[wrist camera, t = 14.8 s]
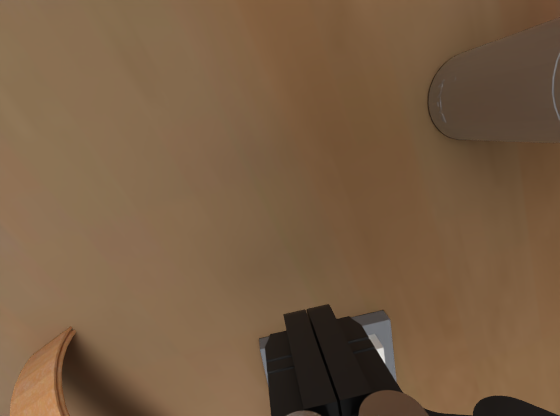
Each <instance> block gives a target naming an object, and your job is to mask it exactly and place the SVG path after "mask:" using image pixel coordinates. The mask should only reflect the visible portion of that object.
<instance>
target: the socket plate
mask: <svg viewBox="0 0 560 416" xmlns="http://www.w3.org/2000/svg"><path fill="white" fill-rule="evenodd" d="M352 319H354V320H355V321H356V322H358V323H359V324H361V325H362V327H363V328H364V330H365V332H366V333H367V335H368V337H369V339H370V340H371V342H372V343H373V345H374V346H375V349H376V350H377V351H378V353H379V355H380V356H381V358H382V360H383V361H384V363H385V365H386V366H387V368H388V369H389V371H390V373H391V374H392V376H393V378H394V379H395V381H396V373H395V363H394V353H393V343H392V333H391V323H390V319H389V317H388V316H387V315H386V314H385V312H384V311H383V310H382V311H378V312H374V313H369V314H365V315H361V316H356V317H352ZM268 339H269V337H264V338H260V339H259V342H260V352H261V356H262V360H263V365H264V369H265V374H266V378H267V382H268V374H267V365H266V354H265V346H266V343H267V341H268ZM396 383H397V382H396ZM268 387H269V386H268Z"/></svg>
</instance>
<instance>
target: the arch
mask: <svg viewBox="0 0 560 416" xmlns="http://www.w3.org/2000/svg"><path fill="white" fill-rule="evenodd" d="M71 330H72V327H69V328H68V329H67V330H65V331H64V332H63V333H61V334H60V335H59V336H57V337H56V338H55V339H53V340H52V341H51V342H49V343H48V344H47V345H45V346H44V347H43V348H41V349H40V350H39V351H37V352H36V353H35V354H33V355H32V356H31V357H30V358H29V360H28V361H27V363H26V364H25V366H24V368H23V369H22V371H21V373H20V375H19V377H18V380H17V382H16V384H15V387H14V391H13V395H12V399H11V405H10V416H69V413H68V410H67V408H66V405H65V400H64V395H63V390H62V367H63V359H64V356H65V353H66V350H67V347H68V345H69V343H70V341H71V339H72V337H73V336H74V335H75V334H76V331H75V330H72V331H71Z"/></svg>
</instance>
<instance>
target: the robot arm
mask: <svg viewBox="0 0 560 416" xmlns="http://www.w3.org/2000/svg"><path fill="white" fill-rule="evenodd" d="M428 105H429V111H430V115H431V118H432V120H433V122H434V124H435V125H436V127H437V128H438V129H439V130H440V131H441V132H442V133H443V134H445V135H446V136H448V137H450V138H454V139H457V140H483V141H508V142H539V143H560V17H559V18H556V19H553V20H551V21H548V22H545V23H542V24H540V25H537V26H534V27H532V28H529V29H526V30H523V31H521V32H518V33H515V34H513V35H510V36H507V37H504V38H502V39H499V40H496V41H494V42H491V43H488V44H485V45H482V46H480V47H477V48H474V49H471V50H469V51H466V52H463V53H461V54H459V55H456V56H454V57H453V58H451V59H450V60H448V61H447V62H446V63H445V64H444V65H443V66H442V67H441V68H440V70H439V71H438V73H437V74H436V76H435V77H434V80H433V82H432V84H431V88H430V92H429V103H428ZM283 315H284V320H285V325H286V330H287V331H283V332H279V333H274V334H270V336H269V339H268V341H267V343H266V346H265V354H266V365H267V374H268V386H269V397H270V407H271V416H471V415H456V414H443V413H437V412H433V411H430V410H427V409H424V408H423V407H422V406H421V405H420V404H419V403H418V402H417V401H416V400H415V399H413V398H412V397H410V396H408V395H406V394H404V393H403V392H402V391H401V389H400V388H399V386H398V384H397V383H396V381H395V379H394V378H393V376H392V374H391V373H390V371H389V369H388V368H387V366H386V365H385V363H384V361H383V360H382V358H381V356H380V355H379V353H378V351H377V350H376V349H375V346H374V345H373V343H372V342H371V340H370V339H369V337H368V335H367V333H366V332H365V330H364V328H363V327H362V325H361V324H359V323H358V322H356V321H355V320H354V319H352V318H351V317H349V316H348V317H344V318H340V319H336V317H335V315H334V313H333V311H332V309H331V307H330V305H329V304H327V305H323V306H318V307H314V308H309V309H307V313H306V310H301V311H296V312H292V313H287V314H283ZM473 416H559V415H556V414H554V413H551V412H549V411H547V410H544V409H542V408H539V407H537V406H534V405H532V404H529V403H527V402H524V401H522V400H519V399H516V398H512V397H507V396H490V397H486V398H484V399H482V400H480V401H479V402H478V403H477V404H476V406H475V407H474V411H473Z"/></svg>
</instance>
